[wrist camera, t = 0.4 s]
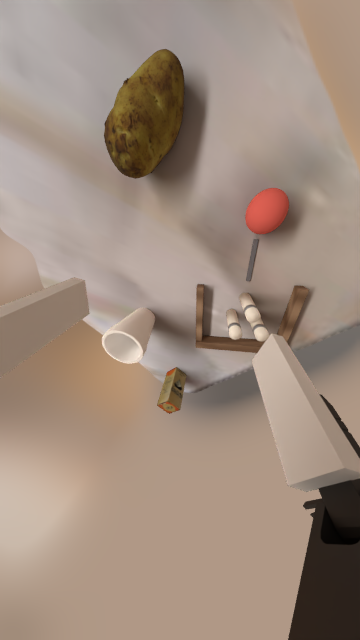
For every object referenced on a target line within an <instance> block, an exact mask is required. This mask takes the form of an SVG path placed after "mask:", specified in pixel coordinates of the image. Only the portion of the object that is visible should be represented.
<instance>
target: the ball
mask: <svg viewBox="0 0 360 640" xmlns="http://www.w3.org/2000/svg"><path fill="white" fill-rule="evenodd" d="M288 208H289V201H288V197H287V195H286V194H285V193H284V192H283V191H282V190H280V189H277V188H269V189H266V190H264V191H262V192H260V193H259V194H257V195H256V196H255V197H254V198H253V199H252V201H251V202H250V204H249V206H248V208H247V211H246V224H247V226H248V228H249V229H250V230H251V231H252V232H254V233H256V234H266V233H269V232H271V231H273V230H275V229H276V228H277V227H278V226H279V225H280V224H281V223H282V222H283V220H284V219H285V217H286V215H287V212H288Z"/></svg>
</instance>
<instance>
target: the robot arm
mask: <svg viewBox="0 0 360 640" xmlns="http://www.w3.org/2000/svg"><path fill="white" fill-rule="evenodd" d="M88 314H90V313H89V306H88V299H87V293H86V286H85V280H82V279H78V278H75V277H74V278H71V279H69V280H66V281H64V282H61V283H59V284H56V285H53V286H51V287H48V288H46V289H43V290H40V291H38V292H35V293H33V294H30V295H27V296H25V297H22V298H20V299H17V300H14V301H12V302H9V303H7V304H4V305H2V306H0V378H2V377H3V376H4V375H6V374H7V373H9V372H10V371H11V370H13V369H14V368H15V367H17V366H18V365H20V364H21V363H22V362H24V361H25V360H26V359H28V358H29V357H30V356H32V355H33V354H35V353H36V352H37V351H39V350H40V349H42V348H43V347H44V346H45V345H47V344H48V343H50V342H51V341H53V340H54V339H55V338H57V337H58V336H59V335H61V334H62V333H63V332H65V331H66V330H68V329H69V328H70V327H72V326H73V325H74V324H76V323H77V322H79V321H80V320H81V319H83V318H84V317H85V316H87V315H88ZM252 363H253V367H254V370H255V374H256V377H257V380H258V384H259V388H260V391H261V394H262V398H263V401H264V405H265V408H266V412H267V415H268V419H269V422H270V425H271V429H272V433H273V436H274V439H275V443H276V446H277V450H278V453H279V457H280V460H281V464H282V467H283V470H284V474H285V478H286V481H287V485H288V486H290V487H293V488H297V489H300V490H303V491H306V492H308V491H312V490H316V489H319V491H320V494H321V496H322V499H317V500H312V501H307V502H305V503H304V505H303V507H304V508H305V509H312V508H315V512H314V513H311V516H312V517H313V523H312V528H311V533H310V537H309V542H308V547H307V552H306V557H305V561H304V566H303V571H302V576H301V581H300V585H299V591H298V595H297V600H296V604H295V610H294V614H293V619H292V624H291V629H290V633H289V638H288V640H360V447H359V445H358V444H357V442H356V441H355V439H354V438H353V436H352V435H351V434H350V433H349V432H348V429H347V427H346V426H345V424H344V423H343V422H342V421H341V418H340V417H339V415H338V414H337V412H336V411H335V409H334V408H333V406H332V405H331V404H330V403H329V402H328V401H327V400H326V399H325V398H324V397H323V396H322V395H320V394H319V393H318V392H317V390H316V388H315V387H314V385H313V384H312V382H311V380H310V379H309V377H308V376H307V374H306V372H305V371H304V369H303V368H302V366H301V364H300V363H299V361H298V360H297V358H296V357H295V355H294V353H293V352H292V350H291V349H290V347H289V345H288V344H287V342H286V341H285V339H284V337H283V336H279V335H276V334H272V333H271V335H270V336H269V337H268V339H267V340H266V342H265V343H264V344H263V346H262V347H261V348H260V350H259V351H258V353H257V354H256V355H255V357H254V358H253V359H252Z"/></svg>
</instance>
